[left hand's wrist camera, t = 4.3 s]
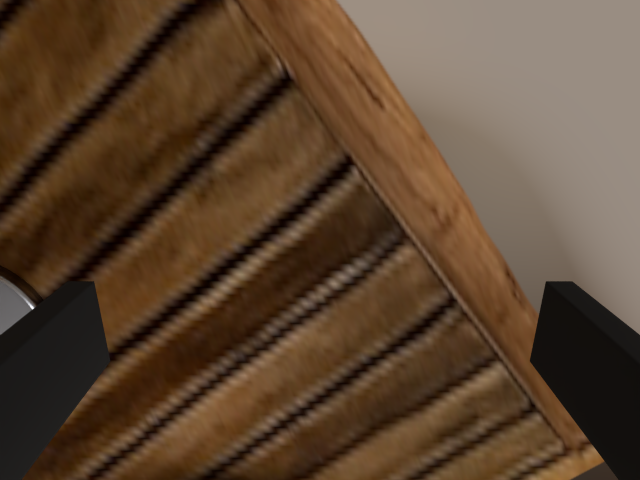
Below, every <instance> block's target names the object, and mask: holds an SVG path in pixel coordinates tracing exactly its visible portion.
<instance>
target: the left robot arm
mask: <svg viewBox="0 0 640 480" xmlns="http://www.w3.org/2000/svg"><path fill="white" fill-rule="evenodd" d="M109 362H110V358H109V353H108V348H107V343H106V338H105V333H104V328H103V323H102V318H101V313H100V308H99V304H98V299H97V294H96V289H95V284H94V281H68V282H66V283H65V284H64V285H63V286H61V287H60V288H59V289H58V290H56V291H55V292H54V293H53V294H51V295H50V296H49V297H47V298H46V299H45V300H43V299H42V298H41V296H40V295H39V294H38V293H37V292H36V291H35V290H34V289H33V288H32V287H31V286H30V285H29V284H28V283H26V282H25V281H24V280H23V279H21V278H20V277H18V276H17V275H15V274H14V273H12V272H11V271H9V270H7V269H5V268H3V267H1V266H0V480H22V478H23V477H24V476H25V474H26V473H27V472H28V470H29V469H30V467H31V466H32V465H33V463H34V462H35V461H36V459H37V458H38V457H39V455H40V454H41V453H42V451H43V450H44V449H45V447H46V446H47V445H48V443H49V442H50V441H51V439H52V438H53V437H54V435H55V434H56V433H57V431H58V430H59V429H60V427H61V426H62V425H63V423H64V422H65V421H66V419H67V418H68V417H69V415H70V414H71V413H72V411H73V410H74V409H75V407H76V406H77V405H78V403H79V402H80V401H81V399H82V398H83V397H84V395H85V394H86V393H87V391H88V390H89V389H90V387H91V386H92V385H93V383H94V382H95V381H96V379H97V378H98V377H99V375H100V374H101V373H102V371H103V370H104V369H105V367H106V366H107V365H108V363H109ZM530 362H531V363H532V365H533V366H534V367H535V369H536V370H537V371H538V373H539V374H540V375H541V377H542V378H543V379H544V381H545V382H546V383H547V385H548V386H549V387H550V389H551V390H552V391H553V393H554V394H555V395H556V397H557V398H558V399H559V401H560V402H561V403H562V405H563V406H564V407H565V409H566V410H567V411H568V413H569V414H570V415H571V417H572V418H573V419H574V421H575V422H576V423H577V425H578V426H579V427H580V429H581V430H582V431H583V433H584V434H585V435H586V437H587V438H588V439H589V441H590V442H591V443H592V445H593V446H594V447H595V449H596V450H597V451H598V453H599V454H600V455H601V457H602V458H603V459H604V461H605V462H606V463H607V465H608V466H609V467H610V469H611V470H612V472H613V473H614V474H615V476H616V477H617V478H618V480H640V335H639V334H638V333H637V332H635V331H634V330H633V329H632V328H630V327H629V326H628V325H627V324H625V323H624V322H623V321H621V320H620V319H619V318H618V317H616V316H615V315H614V314H613V313H611V312H610V311H609V310H608V309H606V308H605V307H604V306H603V305H601V304H600V303H599V302H598V301H596V300H595V299H594V298H593V297H591V296H590V295H589V294H587V293H586V292H585V291H584V290H582V289H581V288H580V287H579V286H577V285H576V284H575V283H574V282H570V281H568V282H567V281H562V282H561V281H560V282H559V281H557V282H555V281H550V282H549V281H547V282H546V284H545V289H544V294H543V299H542V304H541V308H540V313H539V318H538V323H537V328H536V333H535V338H534V343H533V348H532V353H531V358H530Z"/></svg>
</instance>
